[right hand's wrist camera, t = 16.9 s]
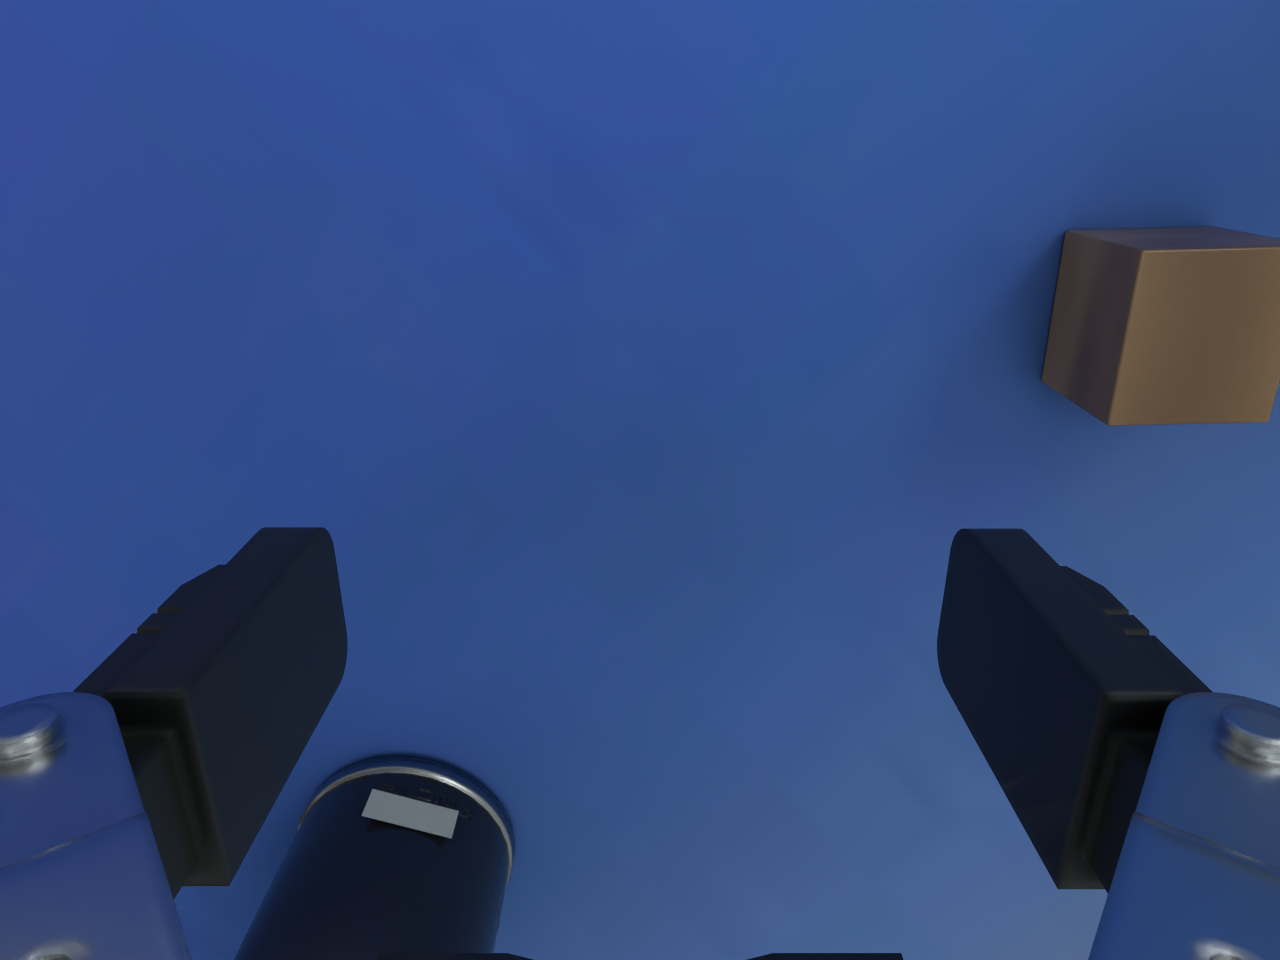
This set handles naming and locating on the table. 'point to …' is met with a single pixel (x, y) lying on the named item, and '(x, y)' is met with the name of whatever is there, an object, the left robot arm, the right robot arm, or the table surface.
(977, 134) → the table surface
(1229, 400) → the brick
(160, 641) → the right robot arm
